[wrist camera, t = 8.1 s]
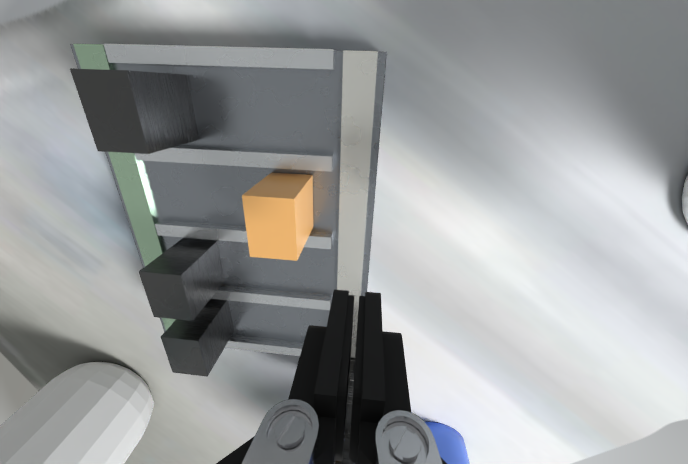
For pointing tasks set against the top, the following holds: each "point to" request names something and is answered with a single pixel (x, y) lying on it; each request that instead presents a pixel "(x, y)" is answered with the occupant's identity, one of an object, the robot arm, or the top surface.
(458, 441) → the water bottle
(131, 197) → the breaker panel
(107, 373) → the soap bottle
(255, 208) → the handle
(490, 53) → the top surface
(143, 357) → the top surface
